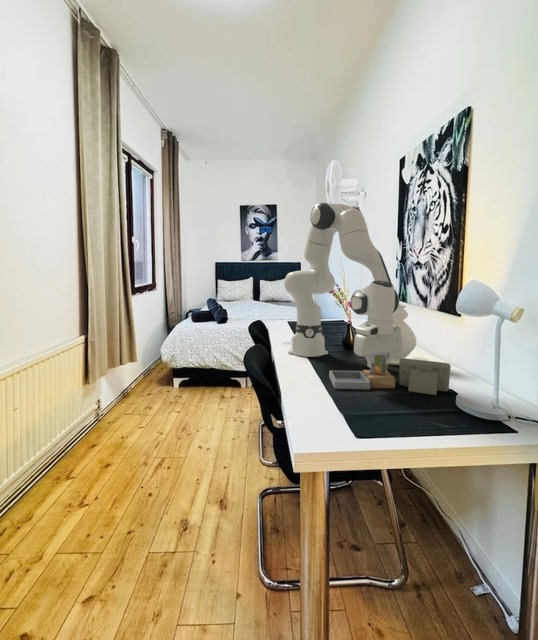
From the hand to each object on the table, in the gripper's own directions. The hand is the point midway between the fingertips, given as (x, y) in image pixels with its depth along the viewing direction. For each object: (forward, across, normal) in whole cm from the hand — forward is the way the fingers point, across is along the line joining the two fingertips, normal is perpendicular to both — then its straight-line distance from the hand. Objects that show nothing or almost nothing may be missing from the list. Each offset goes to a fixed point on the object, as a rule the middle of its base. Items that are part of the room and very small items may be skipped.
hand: (377, 365), depth 136 cm
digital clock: (+7, -9, +12) cm, 17 cm away
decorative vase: (+7, -30, -20) cm, 37 cm away
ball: (+2, 0, 0) cm, 2 cm away
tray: (+6, +9, -5) cm, 12 cm away
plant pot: (+7, -14, -13) cm, 21 cm away
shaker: (+3, 0, 0) cm, 3 cm away
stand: (+6, 0, 0) cm, 7 cm away
